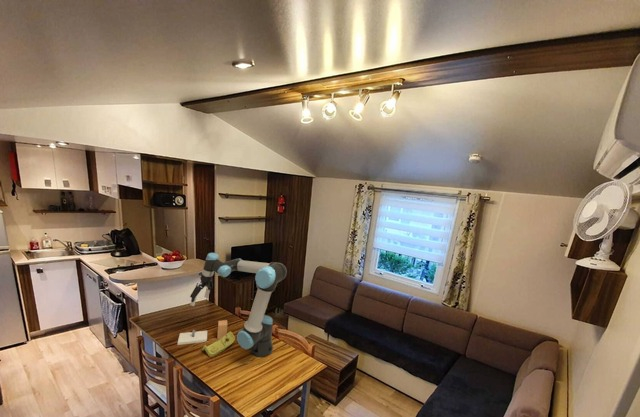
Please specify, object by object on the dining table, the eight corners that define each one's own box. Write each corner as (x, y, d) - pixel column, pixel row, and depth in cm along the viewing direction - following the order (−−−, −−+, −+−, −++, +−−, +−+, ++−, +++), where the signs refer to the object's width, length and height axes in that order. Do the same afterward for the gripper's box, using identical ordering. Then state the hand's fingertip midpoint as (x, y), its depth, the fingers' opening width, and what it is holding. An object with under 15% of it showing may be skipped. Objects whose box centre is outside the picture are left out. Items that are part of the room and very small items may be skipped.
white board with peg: (206, 341, 180) (207, 332, 180) (177, 344, 173) (178, 335, 173) (207, 332, 191) (207, 324, 191) (179, 335, 184) (180, 326, 184)
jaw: (226, 338, 186) (227, 324, 186) (217, 339, 184) (218, 325, 184) (226, 333, 193) (227, 320, 192) (217, 334, 191) (218, 320, 190)
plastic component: (211, 355, 163) (203, 343, 167) (208, 363, 165) (200, 350, 170) (237, 340, 179) (229, 329, 183) (234, 347, 182) (226, 336, 186)
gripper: (214, 266, 191) (207, 292, 195) (189, 278, 168) (181, 306, 171) (223, 271, 190) (215, 296, 193) (198, 283, 166) (190, 311, 169)
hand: (199, 301), depth 182 cm, fingers open, 13 cm apart
